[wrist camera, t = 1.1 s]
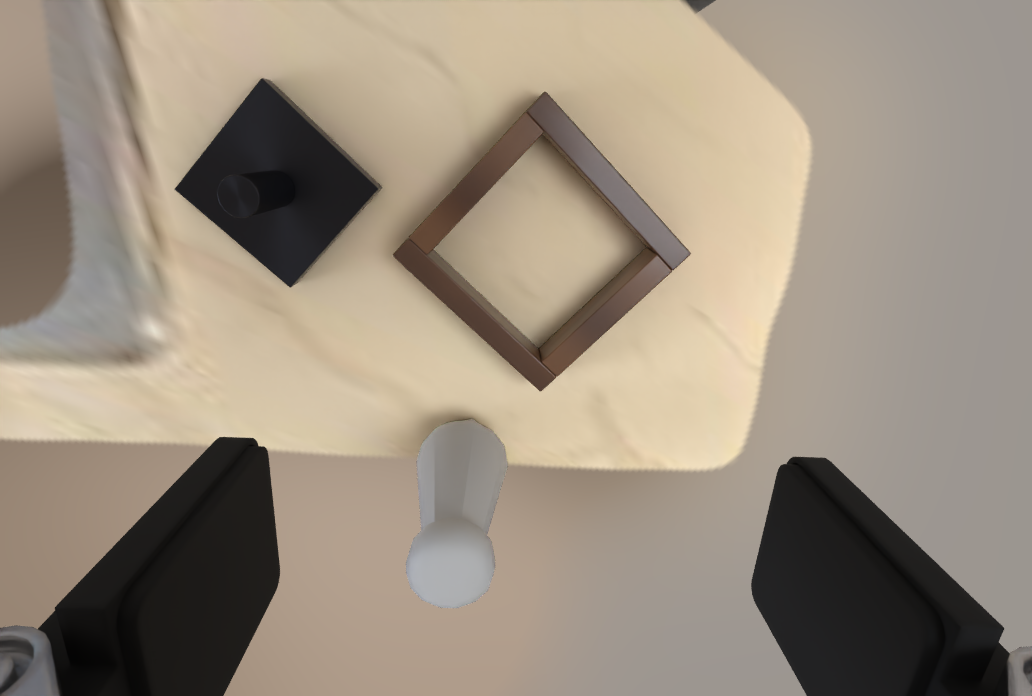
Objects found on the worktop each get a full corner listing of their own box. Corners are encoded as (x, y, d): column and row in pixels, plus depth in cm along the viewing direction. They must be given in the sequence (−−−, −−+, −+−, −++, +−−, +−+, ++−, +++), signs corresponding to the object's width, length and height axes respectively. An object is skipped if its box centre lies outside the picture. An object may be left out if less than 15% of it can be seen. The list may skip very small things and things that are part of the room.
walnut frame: (541, 94, 32) (545, 90, 29) (678, 246, 35) (691, 253, 33) (399, 248, 34) (391, 255, 32) (538, 376, 38) (540, 392, 35)
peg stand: (270, 80, 31) (217, 65, 25) (382, 187, 33) (357, 196, 27) (185, 187, 33) (117, 197, 27) (296, 283, 35) (256, 311, 29)
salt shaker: (414, 413, 38) (373, 539, 26) (499, 399, 38) (498, 520, 26) (432, 487, 40) (402, 638, 28) (512, 475, 40) (518, 621, 28)
